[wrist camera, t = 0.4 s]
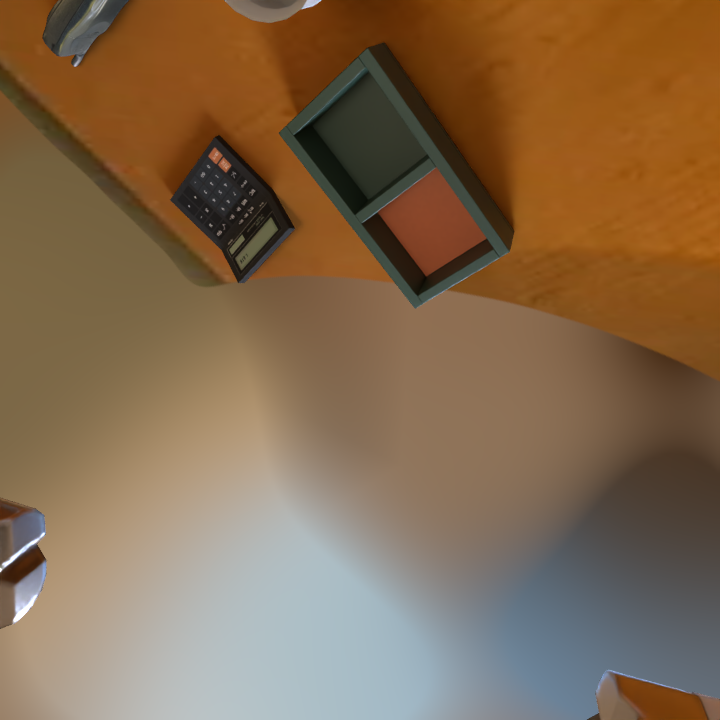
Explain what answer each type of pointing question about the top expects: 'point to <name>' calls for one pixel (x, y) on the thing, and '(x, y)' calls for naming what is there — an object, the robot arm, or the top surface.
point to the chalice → (269, 8)
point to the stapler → (78, 25)
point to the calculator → (233, 208)
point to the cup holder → (398, 177)
